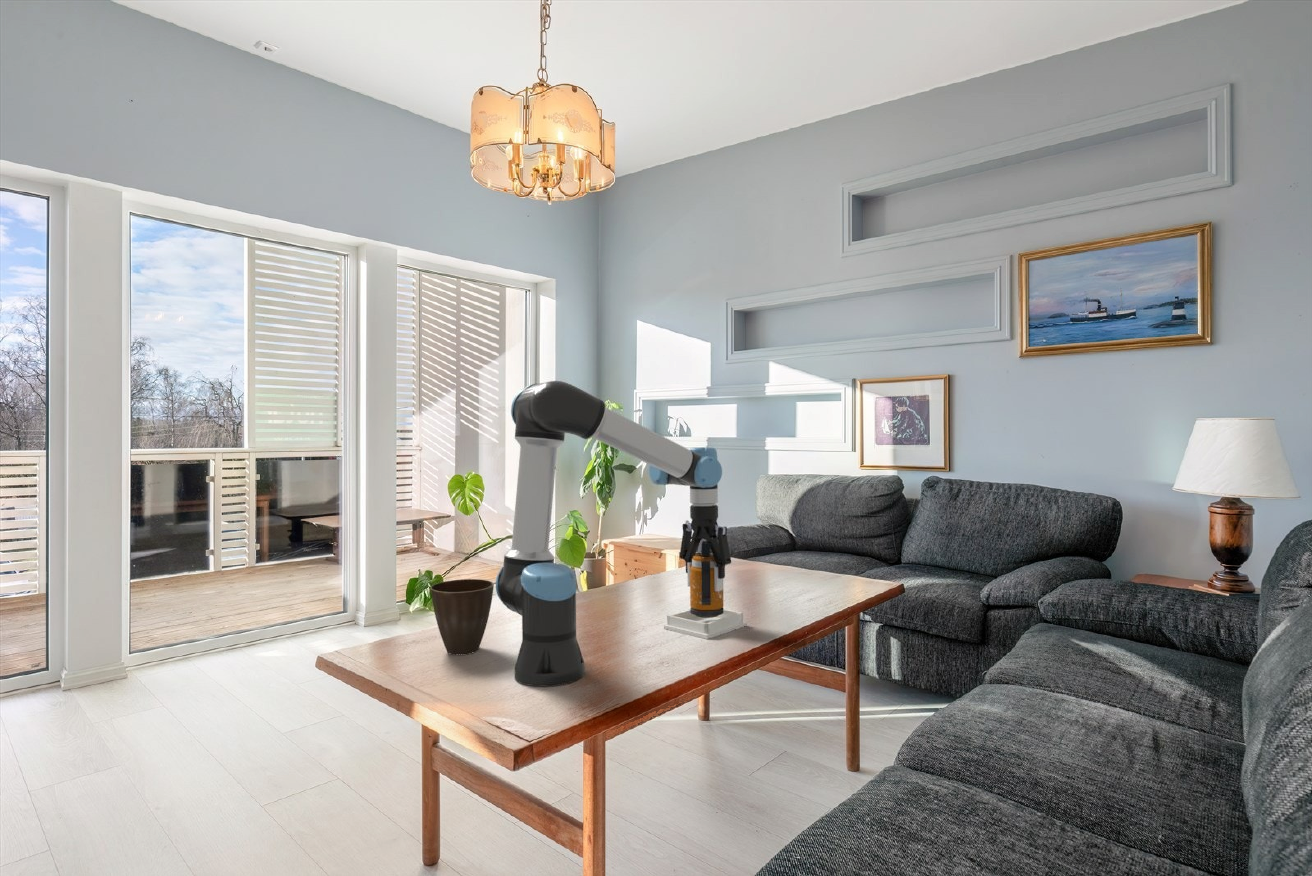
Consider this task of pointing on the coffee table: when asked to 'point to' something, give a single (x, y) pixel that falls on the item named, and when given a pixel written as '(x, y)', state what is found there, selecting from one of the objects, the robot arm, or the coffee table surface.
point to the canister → (704, 585)
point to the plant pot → (462, 612)
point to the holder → (704, 623)
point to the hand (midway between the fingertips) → (705, 588)
